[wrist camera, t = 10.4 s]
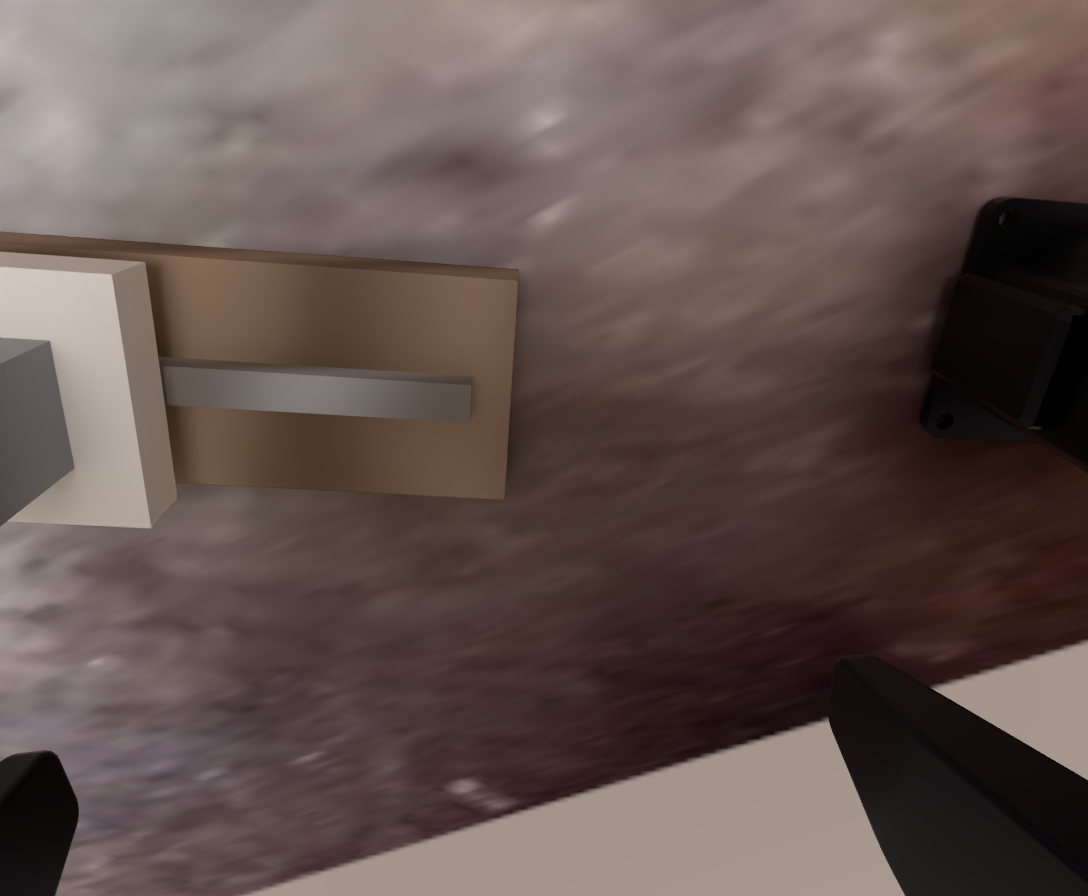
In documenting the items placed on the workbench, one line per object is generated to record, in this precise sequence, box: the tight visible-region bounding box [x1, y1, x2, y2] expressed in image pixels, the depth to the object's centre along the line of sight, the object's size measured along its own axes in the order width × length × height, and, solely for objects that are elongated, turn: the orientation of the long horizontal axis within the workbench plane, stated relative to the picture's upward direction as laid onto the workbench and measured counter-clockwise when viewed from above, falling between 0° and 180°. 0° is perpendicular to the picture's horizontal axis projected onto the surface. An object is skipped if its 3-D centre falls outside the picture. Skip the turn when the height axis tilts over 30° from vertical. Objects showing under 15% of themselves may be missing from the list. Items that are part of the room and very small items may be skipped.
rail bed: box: [0, 232, 518, 500], centre depth 19 cm, size 21×6×2 cm, turn 86°
